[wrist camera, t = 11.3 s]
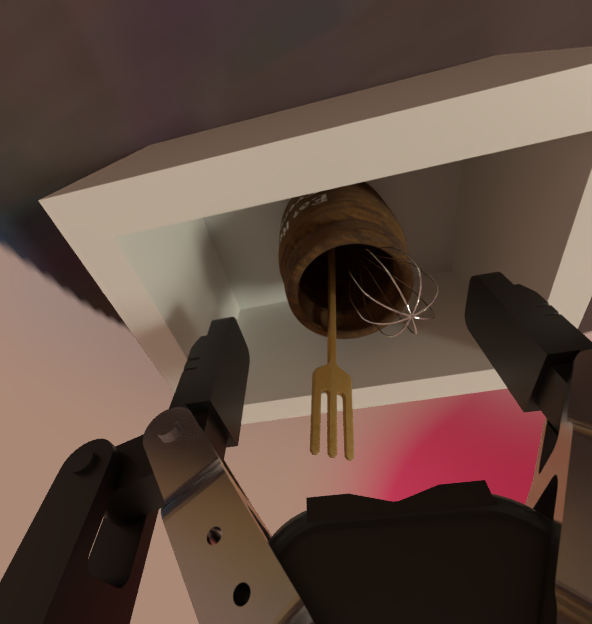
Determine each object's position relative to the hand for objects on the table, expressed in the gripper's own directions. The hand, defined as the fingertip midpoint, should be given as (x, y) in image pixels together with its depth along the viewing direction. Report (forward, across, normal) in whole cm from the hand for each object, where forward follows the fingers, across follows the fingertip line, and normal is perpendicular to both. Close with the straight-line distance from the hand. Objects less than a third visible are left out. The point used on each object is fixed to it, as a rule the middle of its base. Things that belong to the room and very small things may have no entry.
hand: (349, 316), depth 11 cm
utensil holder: (+9, 0, 0) cm, 9 cm away
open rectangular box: (+10, 0, 0) cm, 10 cm away
